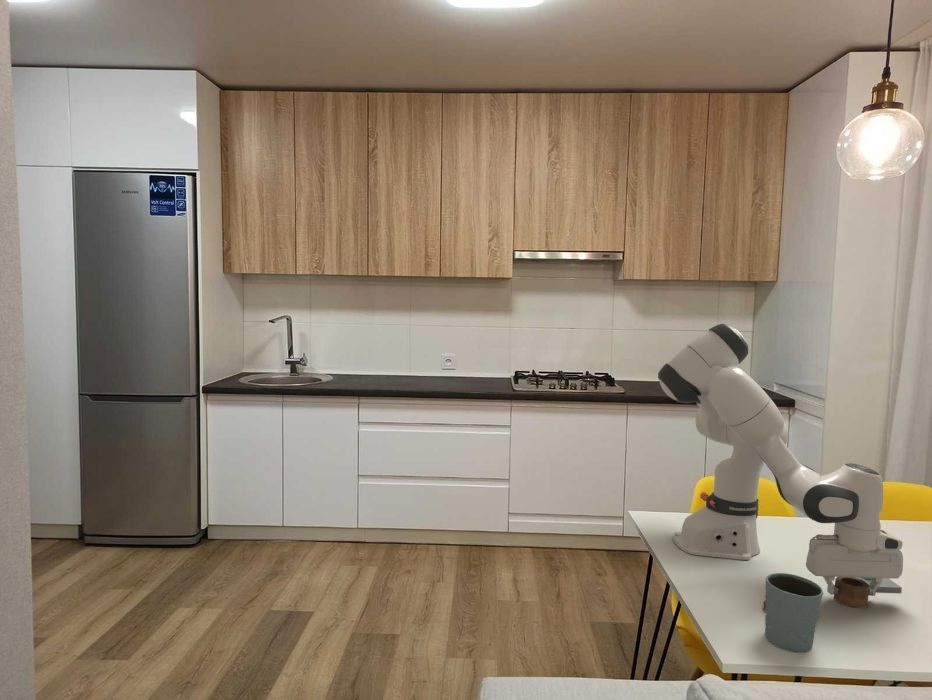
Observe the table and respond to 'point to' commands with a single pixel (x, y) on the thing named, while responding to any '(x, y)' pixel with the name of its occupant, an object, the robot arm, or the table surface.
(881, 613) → the table surface
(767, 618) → the grey blue cup
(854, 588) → the ring
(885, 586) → the shaft stand
